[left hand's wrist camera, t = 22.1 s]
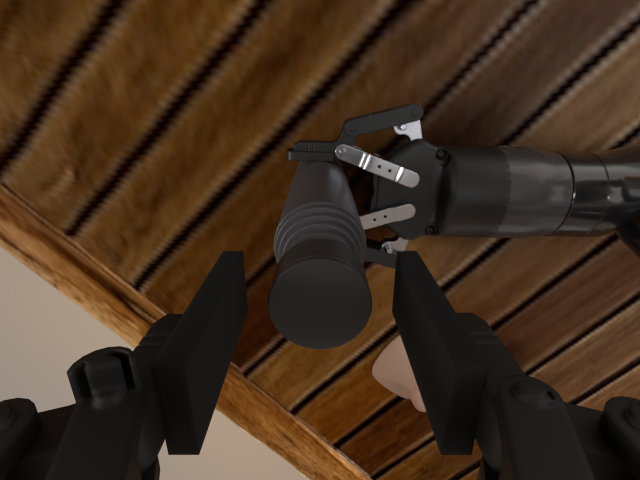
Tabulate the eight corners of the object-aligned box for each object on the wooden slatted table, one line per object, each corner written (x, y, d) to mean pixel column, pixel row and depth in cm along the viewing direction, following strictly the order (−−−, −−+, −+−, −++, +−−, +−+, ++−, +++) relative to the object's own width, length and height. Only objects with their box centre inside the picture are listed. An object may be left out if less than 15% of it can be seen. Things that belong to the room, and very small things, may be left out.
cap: (384, 277, 15) (393, 303, 13) (322, 334, 16) (323, 366, 14) (317, 219, 14) (316, 238, 12) (255, 282, 15) (246, 309, 13)
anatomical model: (367, 413, 42) (401, 333, 38) (363, 387, 46) (394, 313, 42) (472, 435, 44) (515, 360, 40) (460, 409, 47) (498, 338, 43)
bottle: (346, 151, 36) (393, 246, 13) (339, 197, 37) (370, 353, 14) (299, 145, 35) (262, 231, 13) (294, 191, 37) (254, 341, 14)
